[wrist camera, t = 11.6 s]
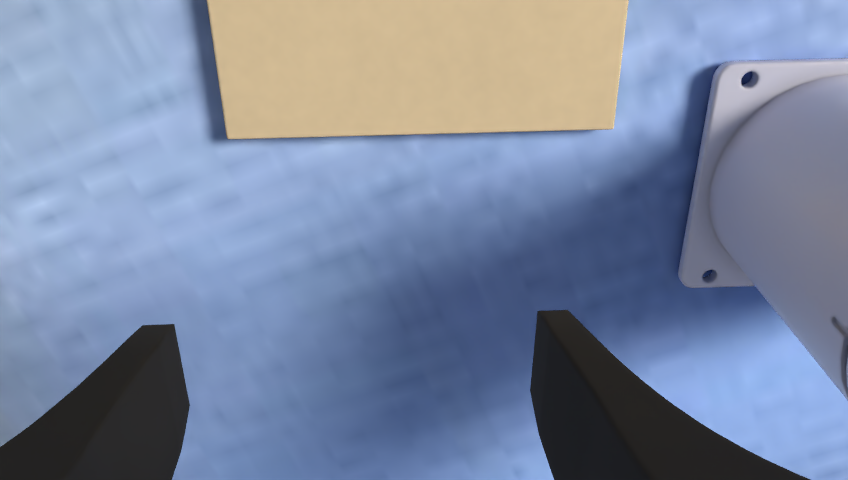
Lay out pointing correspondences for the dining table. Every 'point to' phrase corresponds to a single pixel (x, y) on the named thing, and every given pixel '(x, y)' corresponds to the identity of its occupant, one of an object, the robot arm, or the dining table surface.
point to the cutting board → (416, 66)
